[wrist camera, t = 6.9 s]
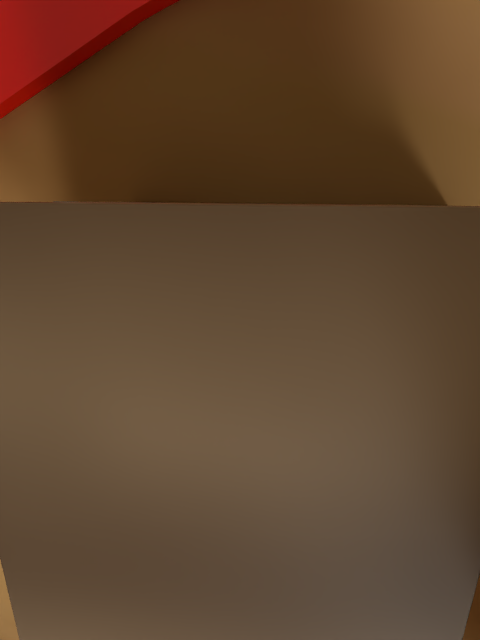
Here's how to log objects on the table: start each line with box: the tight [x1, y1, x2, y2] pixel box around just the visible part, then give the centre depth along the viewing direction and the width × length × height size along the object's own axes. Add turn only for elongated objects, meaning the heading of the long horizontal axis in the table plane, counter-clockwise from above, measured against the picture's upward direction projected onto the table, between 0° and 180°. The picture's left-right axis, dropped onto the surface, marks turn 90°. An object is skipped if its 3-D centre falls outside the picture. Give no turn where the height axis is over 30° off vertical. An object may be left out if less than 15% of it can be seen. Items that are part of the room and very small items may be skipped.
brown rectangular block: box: [0, 202, 480, 640], centre depth 7 cm, size 10×6×5 cm, turn 0°
